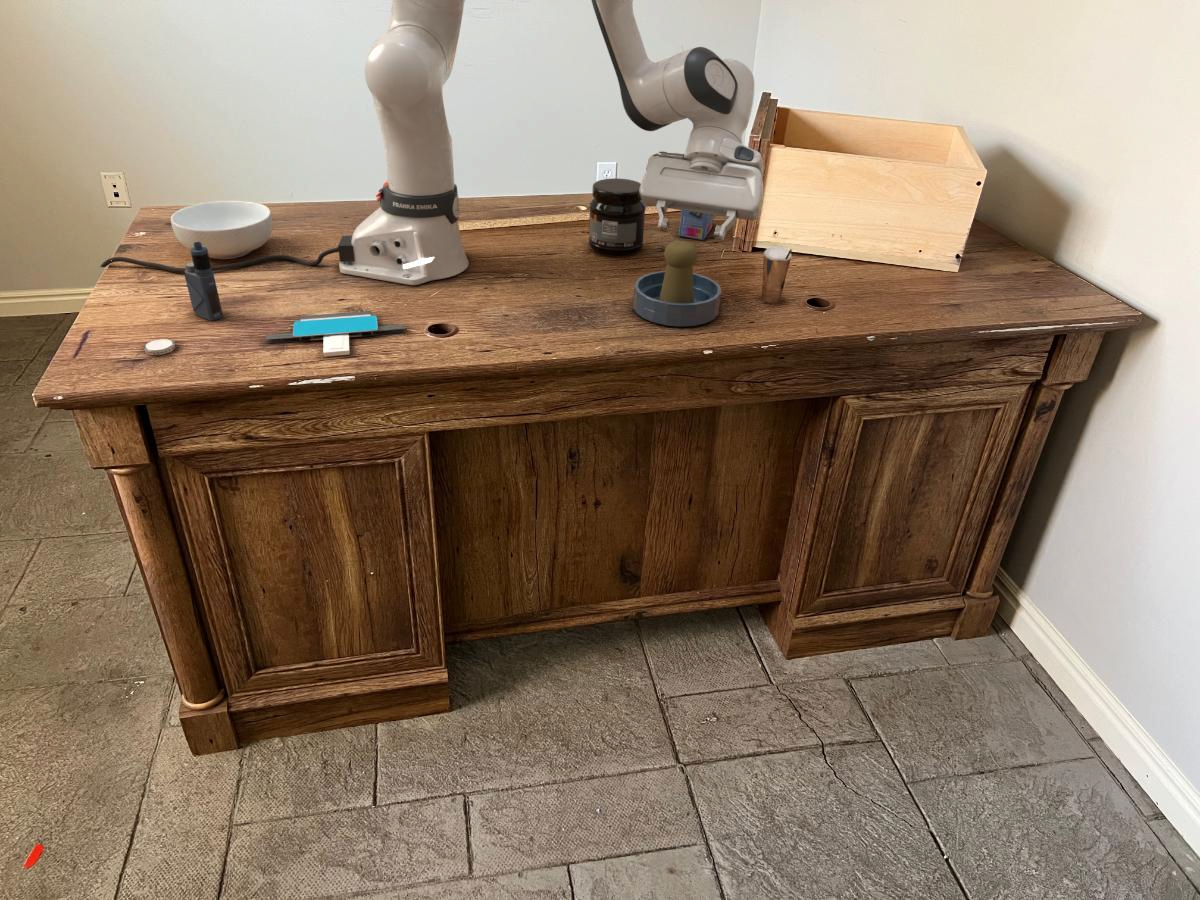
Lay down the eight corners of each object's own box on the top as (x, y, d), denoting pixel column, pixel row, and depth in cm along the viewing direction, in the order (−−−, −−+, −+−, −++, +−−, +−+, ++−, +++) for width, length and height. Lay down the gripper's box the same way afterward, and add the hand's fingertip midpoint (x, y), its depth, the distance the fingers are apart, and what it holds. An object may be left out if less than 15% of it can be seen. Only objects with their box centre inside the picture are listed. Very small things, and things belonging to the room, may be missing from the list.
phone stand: (263, 362, 122) (261, 351, 121) (268, 326, 131) (266, 316, 130) (407, 350, 126) (406, 339, 125) (401, 316, 136) (400, 306, 135)
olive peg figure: (692, 317, 138) (698, 252, 132) (655, 313, 139) (659, 248, 133) (696, 302, 143) (702, 239, 137) (660, 298, 144) (665, 235, 138)
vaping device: (212, 322, 132) (195, 247, 125) (190, 314, 134) (172, 239, 127) (227, 316, 133) (210, 242, 127) (205, 308, 136) (187, 235, 129)
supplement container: (630, 236, 170) (634, 175, 163) (651, 255, 161) (656, 191, 155) (580, 241, 166) (581, 179, 160) (599, 261, 158) (601, 196, 152)
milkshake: (770, 309, 143) (779, 251, 137) (751, 296, 147) (759, 240, 141) (792, 304, 144) (802, 247, 139) (773, 292, 148) (782, 236, 143)
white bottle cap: (141, 355, 122) (140, 351, 121) (148, 343, 125) (147, 339, 125) (171, 354, 122) (170, 350, 122) (178, 341, 126) (177, 337, 125)
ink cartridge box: (705, 241, 169) (713, 166, 161) (678, 237, 170) (684, 163, 162) (714, 225, 177) (722, 154, 169) (688, 222, 178) (695, 150, 170)
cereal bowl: (274, 266, 151) (267, 227, 147) (172, 272, 147) (162, 232, 144) (280, 233, 165) (273, 196, 161) (187, 238, 161) (178, 200, 157)
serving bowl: (629, 324, 136) (630, 300, 134) (637, 289, 148) (638, 267, 145) (717, 331, 135) (720, 308, 133) (719, 296, 146) (721, 274, 144)
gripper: (647, 139, 141) (625, 215, 139) (770, 154, 135) (750, 234, 133) (654, 160, 147) (633, 233, 145) (772, 176, 141) (752, 252, 139)
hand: (690, 234), depth 139 cm, fingers open, 8 cm apart
